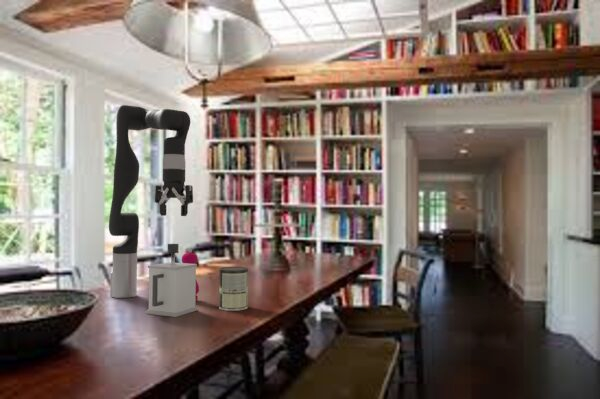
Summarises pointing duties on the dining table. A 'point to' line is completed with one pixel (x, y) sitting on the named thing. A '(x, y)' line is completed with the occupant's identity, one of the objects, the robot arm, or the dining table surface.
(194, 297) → the white cabinet
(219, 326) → the dining table surface
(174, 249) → the grey thin rod
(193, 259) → the pepper mill
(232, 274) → the coffee can
